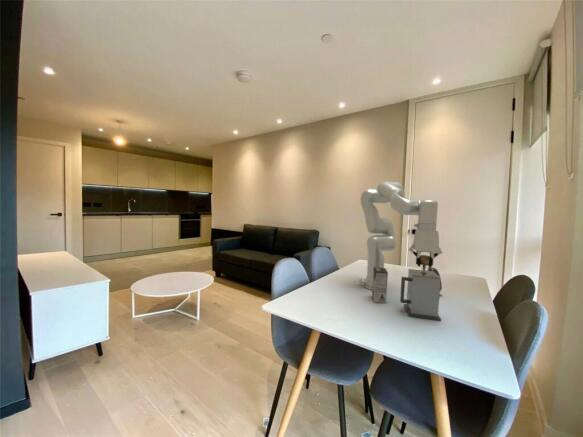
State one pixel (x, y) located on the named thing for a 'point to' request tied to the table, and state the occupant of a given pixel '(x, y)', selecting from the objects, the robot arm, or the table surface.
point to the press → (421, 294)
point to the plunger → (424, 262)
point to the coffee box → (379, 285)
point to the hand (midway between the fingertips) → (424, 266)
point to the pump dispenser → (437, 274)
